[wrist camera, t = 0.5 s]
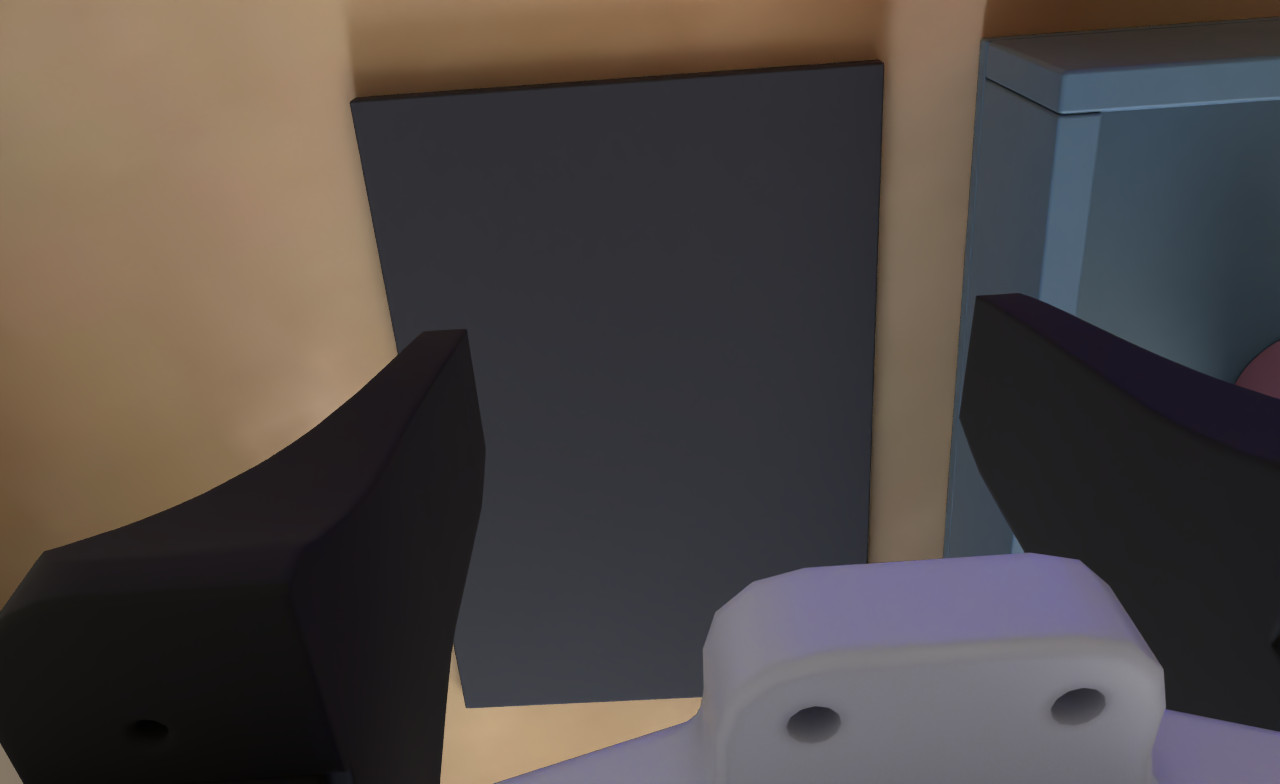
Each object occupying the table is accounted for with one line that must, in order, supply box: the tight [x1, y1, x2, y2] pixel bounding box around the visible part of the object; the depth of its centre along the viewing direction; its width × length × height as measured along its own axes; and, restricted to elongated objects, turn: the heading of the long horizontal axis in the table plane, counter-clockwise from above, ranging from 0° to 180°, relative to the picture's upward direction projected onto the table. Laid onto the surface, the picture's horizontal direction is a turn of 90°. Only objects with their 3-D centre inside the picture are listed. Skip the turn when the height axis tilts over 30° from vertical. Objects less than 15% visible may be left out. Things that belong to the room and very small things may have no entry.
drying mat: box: [350, 60, 884, 708], centre depth 26 cm, size 18×12×1 cm, turn 4°
